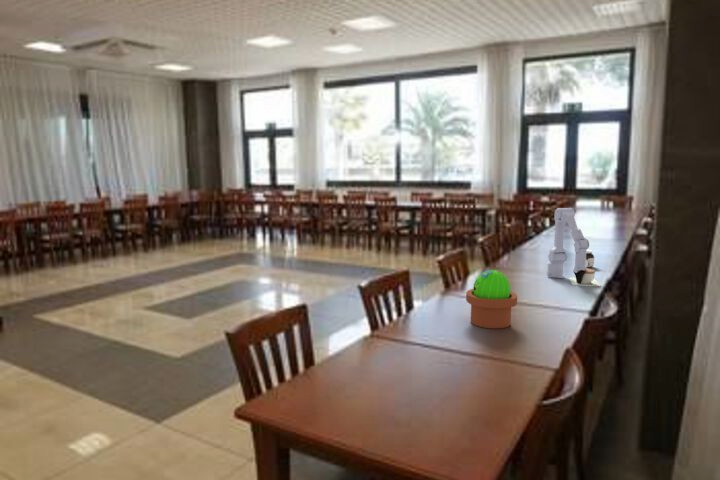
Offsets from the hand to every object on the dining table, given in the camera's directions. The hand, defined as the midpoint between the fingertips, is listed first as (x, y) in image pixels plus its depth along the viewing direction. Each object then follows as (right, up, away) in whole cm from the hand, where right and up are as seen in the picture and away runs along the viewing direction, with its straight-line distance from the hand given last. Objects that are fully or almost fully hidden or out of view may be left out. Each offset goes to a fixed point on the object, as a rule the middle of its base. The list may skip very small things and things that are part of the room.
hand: (578, 282), depth 308 cm
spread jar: (+25, +6, +51) cm, 57 cm away
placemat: (+7, 0, +9) cm, 12 cm away
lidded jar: (+6, -1, +6) cm, 8 cm away
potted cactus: (-69, -13, -69) cm, 99 cm away
